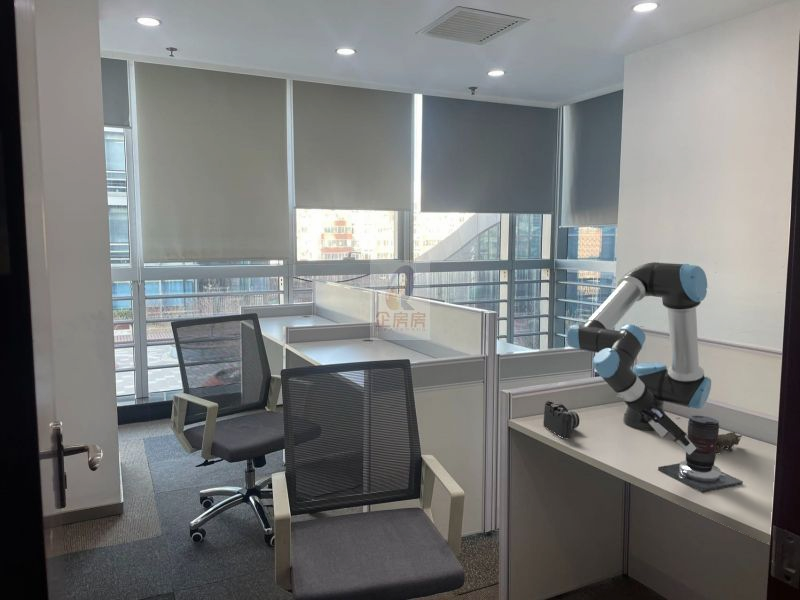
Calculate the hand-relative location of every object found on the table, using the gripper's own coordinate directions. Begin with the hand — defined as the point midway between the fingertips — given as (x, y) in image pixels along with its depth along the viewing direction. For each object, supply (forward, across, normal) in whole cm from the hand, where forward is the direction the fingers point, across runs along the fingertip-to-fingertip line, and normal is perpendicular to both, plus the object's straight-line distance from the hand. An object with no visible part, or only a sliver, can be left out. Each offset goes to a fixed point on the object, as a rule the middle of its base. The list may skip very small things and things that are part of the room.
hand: (678, 442), depth 172 cm
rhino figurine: (+31, -20, +15) cm, 39 cm away
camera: (-4, -41, -20) cm, 46 cm away
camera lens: (+11, 0, 0) cm, 11 cm away
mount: (+14, 0, -2) cm, 14 cm away
